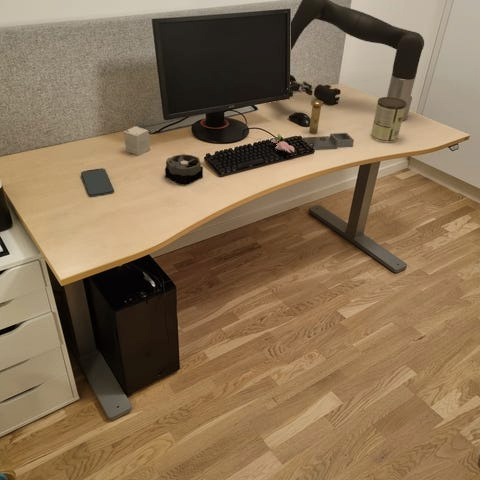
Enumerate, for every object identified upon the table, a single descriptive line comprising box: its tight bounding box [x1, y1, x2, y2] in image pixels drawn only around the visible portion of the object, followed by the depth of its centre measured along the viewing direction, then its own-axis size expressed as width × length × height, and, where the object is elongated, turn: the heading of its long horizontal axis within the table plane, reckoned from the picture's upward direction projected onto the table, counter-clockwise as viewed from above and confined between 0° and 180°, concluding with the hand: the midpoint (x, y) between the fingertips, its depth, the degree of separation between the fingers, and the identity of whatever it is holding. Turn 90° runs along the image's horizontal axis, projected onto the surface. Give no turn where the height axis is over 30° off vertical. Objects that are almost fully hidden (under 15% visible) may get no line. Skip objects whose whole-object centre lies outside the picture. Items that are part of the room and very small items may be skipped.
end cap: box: [313, 84, 341, 106], centre depth 207 cm, size 10×7×7 cm
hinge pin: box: [308, 99, 324, 135], centre depth 176 cm, size 4×4×12 cm
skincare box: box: [123, 125, 151, 156], centre depth 158 cm, size 6×6×7 cm
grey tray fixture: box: [302, 132, 355, 151], centre depth 170 cm, size 19×9×2 cm, turn 102°
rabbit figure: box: [270, 133, 295, 154], centre depth 163 cm, size 6×6×15 cm
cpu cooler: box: [164, 154, 204, 186], centre depth 144 cm, size 10×6×10 cm
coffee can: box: [370, 96, 407, 144], centre depth 174 cm, size 10×10×14 cm
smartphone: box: [80, 167, 115, 198], centre depth 140 cm, size 8×2×15 cm
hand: (301, 93), depth 181 cm, fingers open, 8 cm apart
